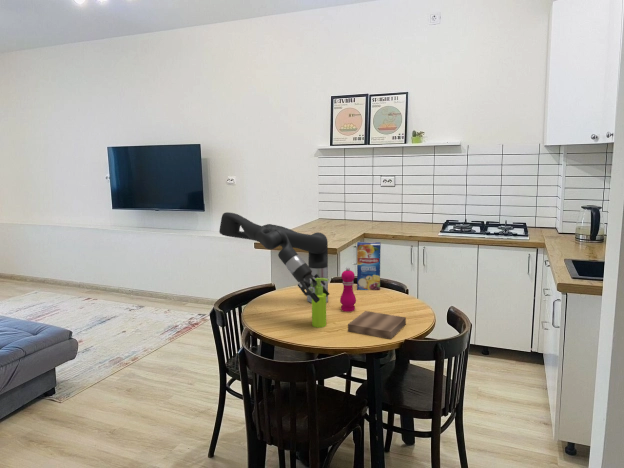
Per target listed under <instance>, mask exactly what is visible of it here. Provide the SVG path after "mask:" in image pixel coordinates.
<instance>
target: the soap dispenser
mask: <svg viewBox="0 0 624 468" xmlns="http://www.w3.org/2000/svg"><path fill="white" fill-rule="evenodd" d="M315 281H317V285H316V286H315V294H316V295H317V296H318V297H319V299H320V300H319V301H318V302H317V303H316V302H315V301H314V300H313V299H312V303H311V325H312V327H314V328H318V329H319V328H325V327H326V326H327V302H326V294H325V293H323V286H322V285H321V281H328V282H329V278H328V279H326V278H316V279H315Z"/></svg>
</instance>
